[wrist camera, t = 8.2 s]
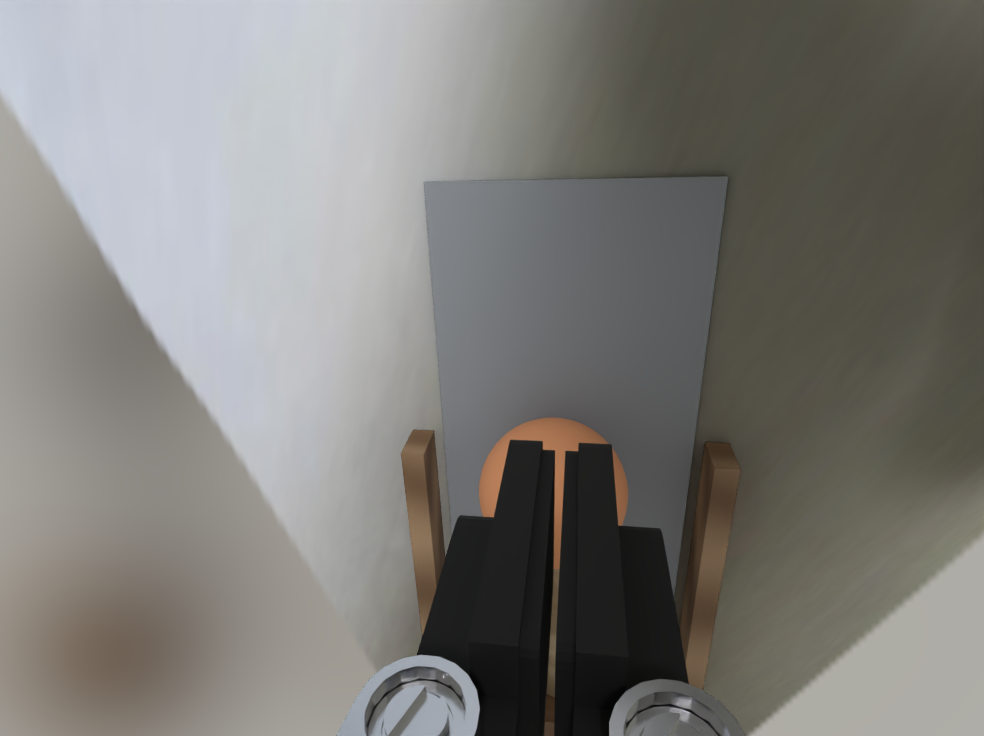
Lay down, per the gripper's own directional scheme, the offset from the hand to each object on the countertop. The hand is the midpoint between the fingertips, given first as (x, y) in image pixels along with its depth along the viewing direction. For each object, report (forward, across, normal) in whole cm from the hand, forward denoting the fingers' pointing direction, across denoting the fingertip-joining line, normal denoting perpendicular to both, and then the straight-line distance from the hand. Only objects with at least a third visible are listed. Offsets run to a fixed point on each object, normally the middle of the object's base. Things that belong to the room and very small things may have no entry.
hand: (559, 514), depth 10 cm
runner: (+14, 0, +10) cm, 17 cm away
